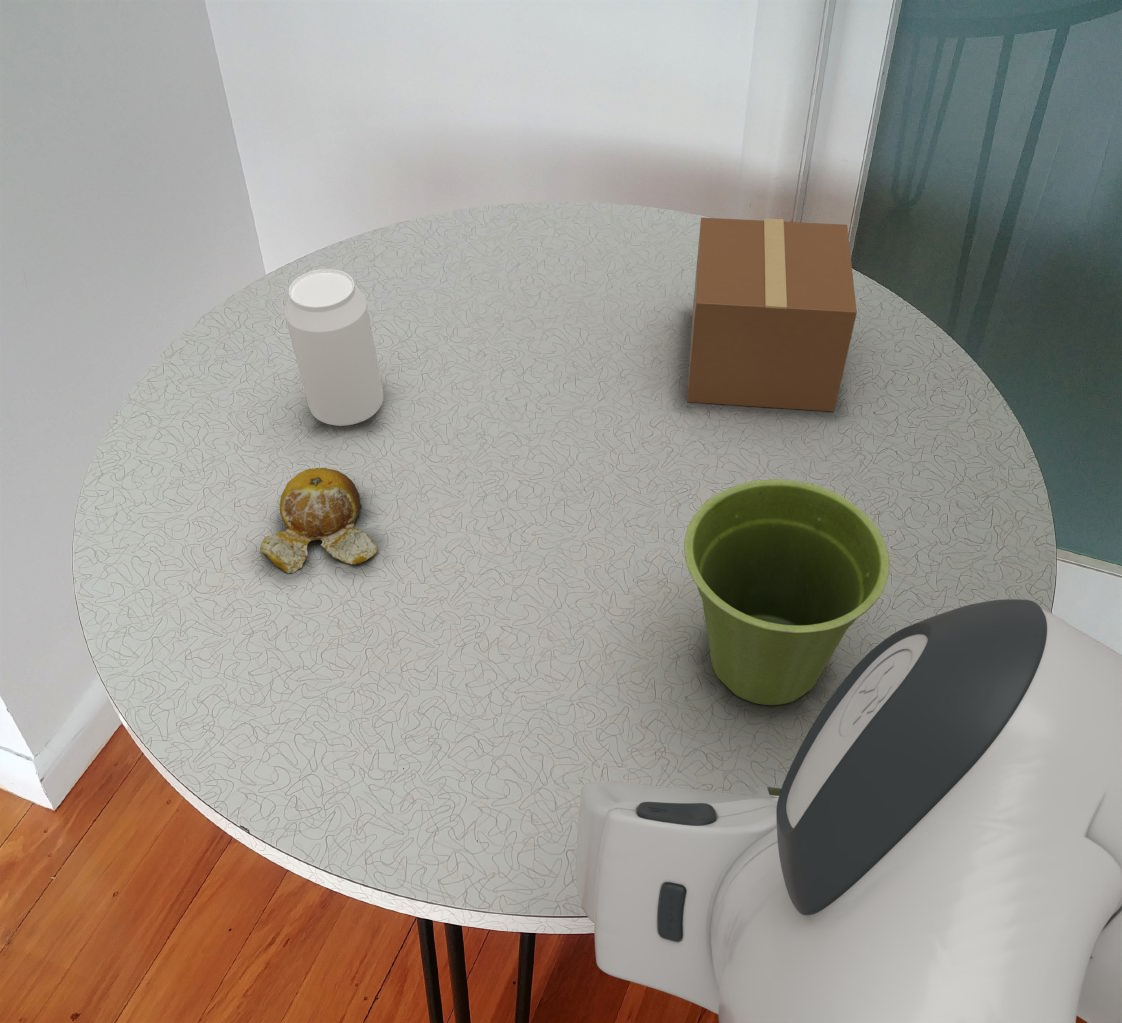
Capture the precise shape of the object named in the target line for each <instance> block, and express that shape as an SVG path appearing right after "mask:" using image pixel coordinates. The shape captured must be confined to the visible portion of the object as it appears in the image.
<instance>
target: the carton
mask: <svg viewBox="0 0 1122 1023" xmlns="http://www.w3.org/2000/svg"><path fill="white" fill-rule="evenodd" d="M699 223H700V225H699V236H698V247H697V257H696V258H697V259H696V268H695V280H694V291H693V301H692V302H693V303H692V312H691V314H692V315H691V330H690V345H689V361H688V362H689V363H688V377H687V378H688V379H687V394H686V395H687V396H686V402H687V403H696V404H710V405H711V404H712V405H725V406H726V405H728V406H740V407H741V406H742V407H744V406H745V407H757V408H772V409H786V410H787V409H788V410H800V411H801V410H804V411H818V412H819V411H820V412H833V413H834V412H835V410H836V406H837V402H838V398H839V397H838V396H839V392H840V388H841V383H842V380H843V374H844V370H845V367H846V361H847V359H848V358H847V357H848V353H849V350H850V345H851V340H852V337H853V336H852V335H853V332H854V327H855V323H856V318H857V314H858V311H857V301H856V300H857V299H856V292H855V284H854V283H855V282H854V274H853V266H852V256H851V248H850V237H849V230H848V225H847V224H840V223H820V222H800V221H785V220H784V218H765V217H764V218H763V220H762V219H761V220H760V219H741V218H740V219H739V218H720V217H719V218H718V217H700V222H699Z"/></svg>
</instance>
